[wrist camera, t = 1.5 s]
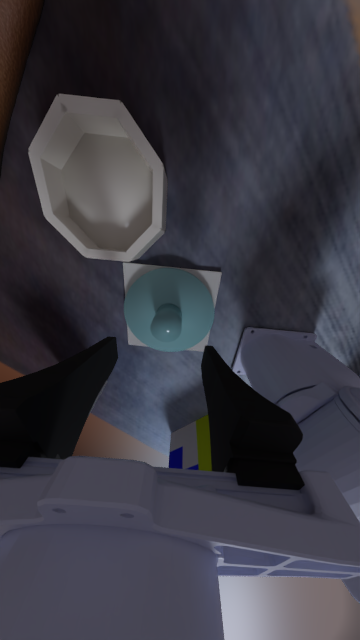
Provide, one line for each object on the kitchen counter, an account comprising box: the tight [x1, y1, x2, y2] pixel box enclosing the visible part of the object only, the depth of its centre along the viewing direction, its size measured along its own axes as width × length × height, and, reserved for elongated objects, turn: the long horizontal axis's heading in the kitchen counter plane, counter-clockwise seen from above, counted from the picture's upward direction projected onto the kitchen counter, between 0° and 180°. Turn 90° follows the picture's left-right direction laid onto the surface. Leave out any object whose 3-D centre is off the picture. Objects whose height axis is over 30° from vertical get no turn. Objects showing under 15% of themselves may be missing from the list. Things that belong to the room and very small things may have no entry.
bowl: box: [28, 94, 168, 262], centre depth 14 cm, size 10×10×3 cm
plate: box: [123, 262, 222, 352], centre depth 20 cm, size 11×11×1 cm
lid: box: [124, 268, 214, 352], centre depth 18 cm, size 11×11×4 cm
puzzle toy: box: [169, 415, 212, 471], centre depth 28 cm, size 10×10×10 cm
